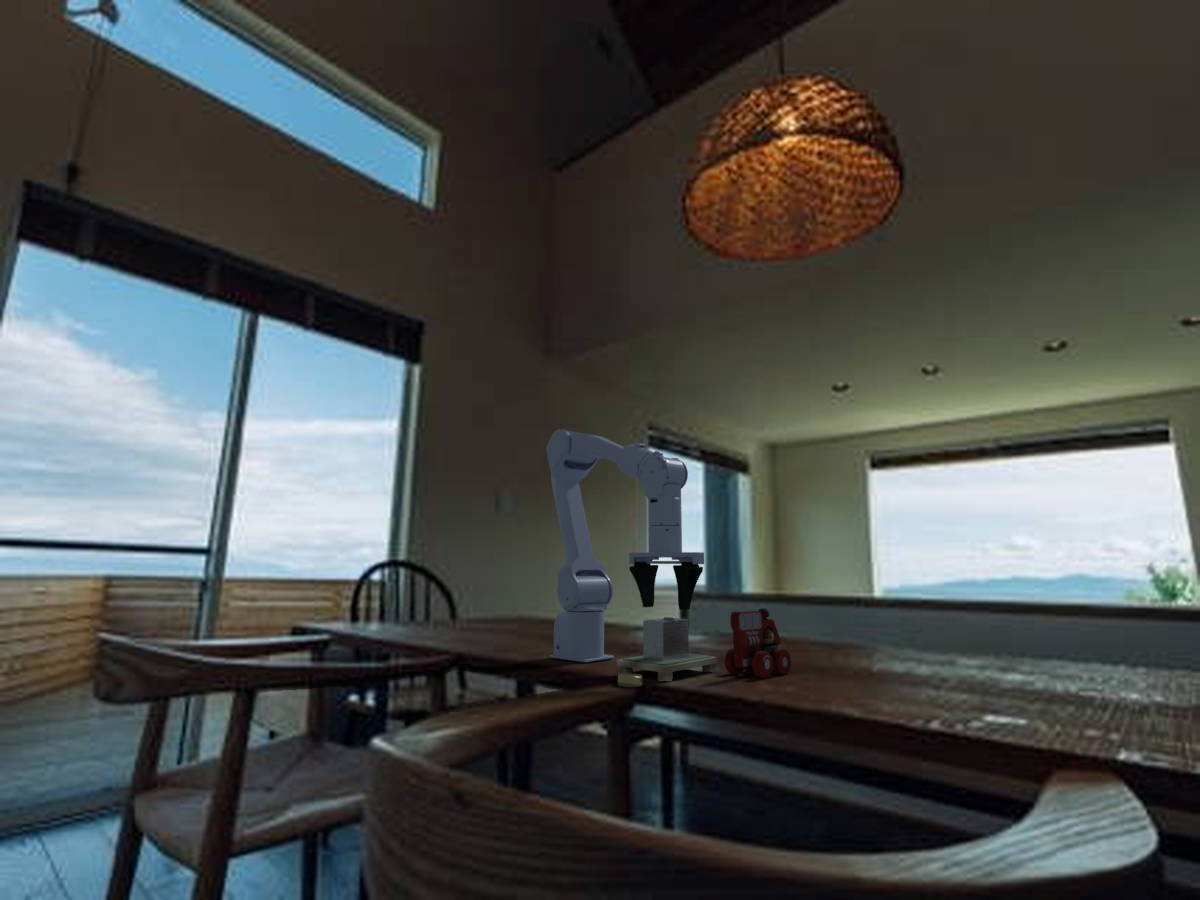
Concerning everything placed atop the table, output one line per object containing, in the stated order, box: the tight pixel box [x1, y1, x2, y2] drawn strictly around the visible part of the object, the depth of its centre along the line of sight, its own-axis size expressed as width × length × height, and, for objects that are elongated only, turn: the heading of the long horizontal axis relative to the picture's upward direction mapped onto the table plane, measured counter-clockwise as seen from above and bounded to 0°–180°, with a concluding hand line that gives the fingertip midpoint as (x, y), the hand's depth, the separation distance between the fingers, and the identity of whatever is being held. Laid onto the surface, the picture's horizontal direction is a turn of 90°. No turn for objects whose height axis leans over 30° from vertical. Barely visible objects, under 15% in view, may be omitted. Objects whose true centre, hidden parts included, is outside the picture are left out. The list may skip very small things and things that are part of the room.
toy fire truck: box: [724, 607, 792, 679], centre depth 107 cm, size 7×12×10 cm, turn 132°
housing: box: [642, 616, 690, 661], centre depth 107 cm, size 4×7×6 cm, turn 138°
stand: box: [616, 652, 718, 681], centre depth 106 cm, size 10×14×2 cm
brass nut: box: [617, 673, 643, 688], centre depth 96 cm, size 4×4×2 cm
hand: (665, 608), depth 109 cm, fingers open, 7 cm apart
